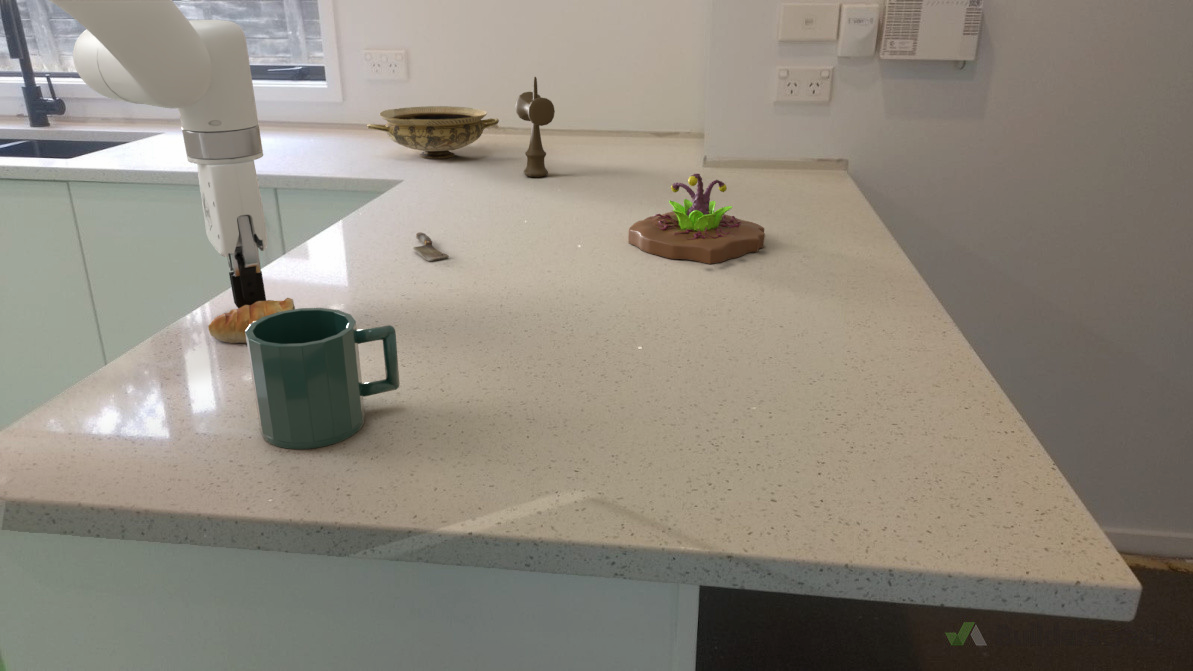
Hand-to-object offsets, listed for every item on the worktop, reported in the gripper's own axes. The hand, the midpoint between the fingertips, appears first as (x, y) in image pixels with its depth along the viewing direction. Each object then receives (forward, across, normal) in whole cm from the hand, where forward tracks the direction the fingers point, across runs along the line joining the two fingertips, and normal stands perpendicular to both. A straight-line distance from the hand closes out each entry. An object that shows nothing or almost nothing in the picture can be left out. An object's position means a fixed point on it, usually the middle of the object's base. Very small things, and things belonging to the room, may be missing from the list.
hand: (250, 304), depth 96 cm
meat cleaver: (+3, -17, +29) cm, 33 cm away
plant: (+4, 0, +66) cm, 66 cm away
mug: (+2, +28, +1) cm, 28 cm away
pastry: (+2, +4, 0) cm, 5 cm away
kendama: (+4, -56, +68) cm, 89 cm away
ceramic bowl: (+4, -87, +59) cm, 105 cm away
